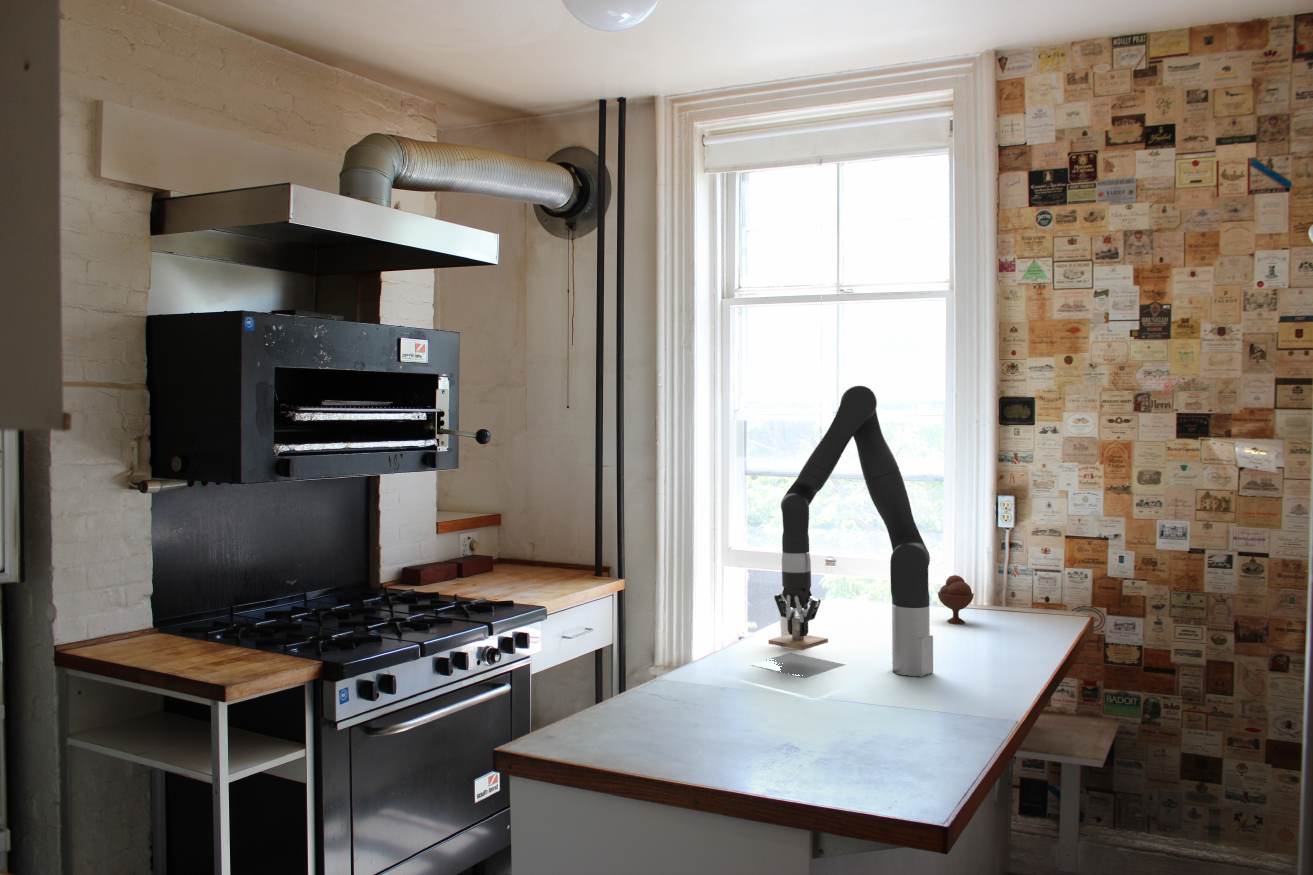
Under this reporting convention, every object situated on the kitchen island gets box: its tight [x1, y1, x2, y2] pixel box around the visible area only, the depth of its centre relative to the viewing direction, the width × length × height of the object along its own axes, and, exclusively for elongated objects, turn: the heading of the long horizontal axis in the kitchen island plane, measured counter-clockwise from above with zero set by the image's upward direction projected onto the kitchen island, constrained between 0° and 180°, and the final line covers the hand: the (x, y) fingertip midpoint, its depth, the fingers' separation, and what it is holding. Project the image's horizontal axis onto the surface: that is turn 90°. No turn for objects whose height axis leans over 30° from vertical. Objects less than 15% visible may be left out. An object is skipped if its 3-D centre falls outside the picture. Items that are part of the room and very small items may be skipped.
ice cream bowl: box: [937, 574, 975, 625], centre depth 284 cm, size 11×11×15 cm
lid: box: [768, 617, 829, 651], centre depth 231 cm, size 11×11×6 cm
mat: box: [765, 652, 846, 679], centre depth 232 cm, size 18×18×1 cm
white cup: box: [779, 610, 799, 650], centre depth 252 cm, size 8×8×10 cm
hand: (797, 634), depth 231 cm, fingers closed on lid, 3 cm apart
